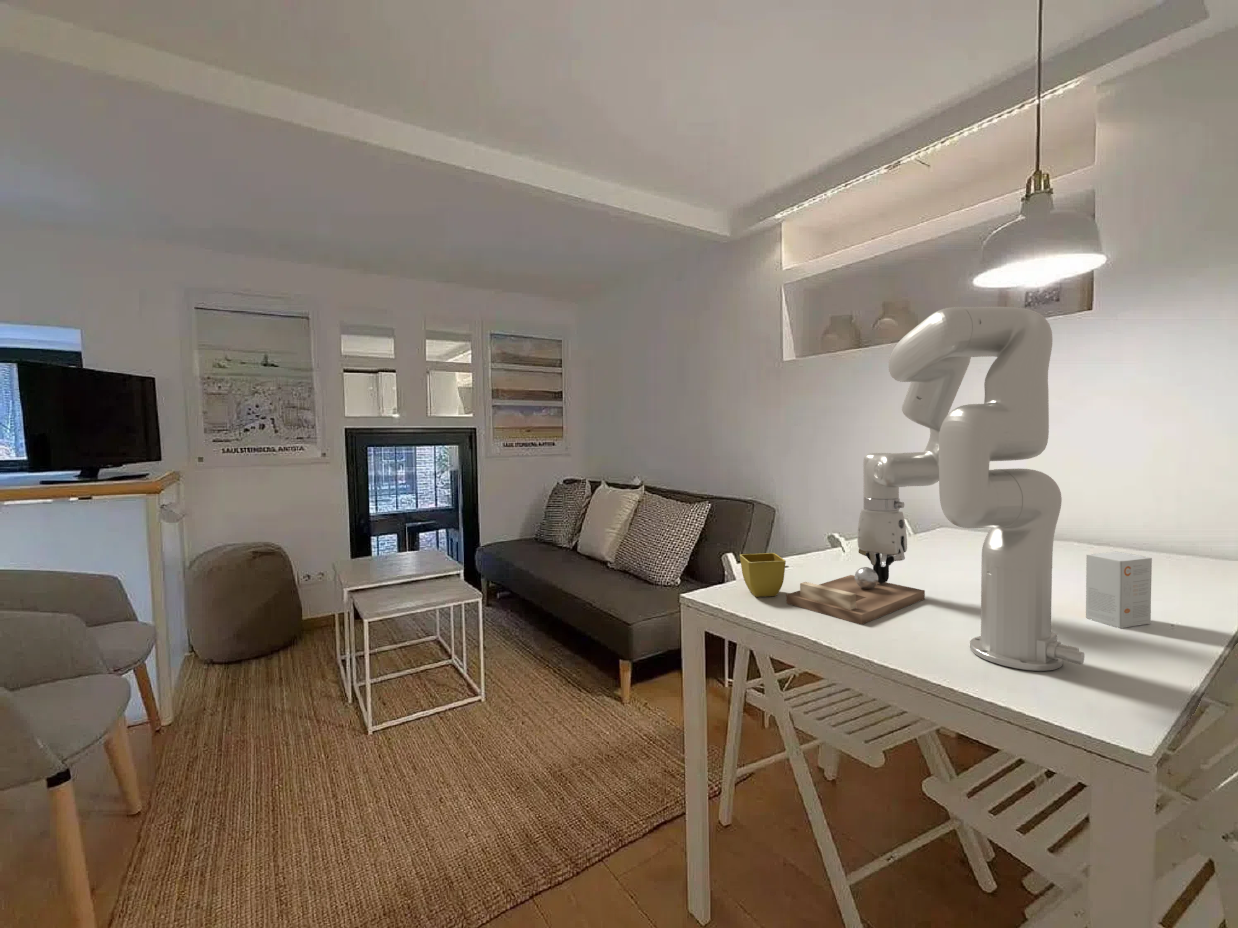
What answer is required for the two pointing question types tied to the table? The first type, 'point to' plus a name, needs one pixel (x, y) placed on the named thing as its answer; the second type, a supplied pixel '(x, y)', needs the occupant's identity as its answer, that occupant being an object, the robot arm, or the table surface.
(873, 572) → the steel ball
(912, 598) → the walnut board
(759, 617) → the table surface
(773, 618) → the table surface
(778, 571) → the flower pot
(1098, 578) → the small box
